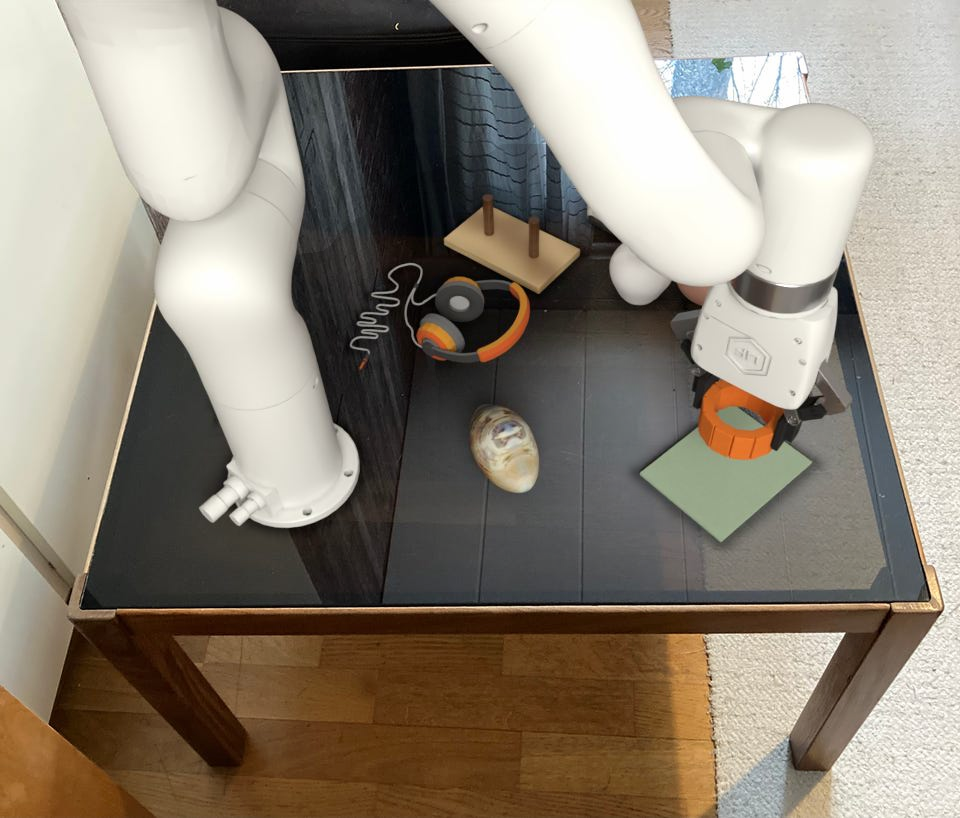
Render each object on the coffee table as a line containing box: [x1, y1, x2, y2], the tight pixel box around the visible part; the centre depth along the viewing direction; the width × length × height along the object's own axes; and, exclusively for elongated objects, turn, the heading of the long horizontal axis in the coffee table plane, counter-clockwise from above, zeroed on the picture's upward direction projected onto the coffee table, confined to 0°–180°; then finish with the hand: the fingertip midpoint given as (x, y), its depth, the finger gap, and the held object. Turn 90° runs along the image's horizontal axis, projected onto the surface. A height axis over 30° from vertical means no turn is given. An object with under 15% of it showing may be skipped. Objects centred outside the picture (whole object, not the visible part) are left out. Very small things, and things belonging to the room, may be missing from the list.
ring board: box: [443, 193, 581, 295], centre depth 108 cm, size 8×14×6 cm, turn 51°
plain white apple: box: [608, 242, 673, 306], centre depth 101 cm, size 7×7×8 cm
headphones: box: [349, 262, 531, 370], centre depth 100 cm, size 17×5×20 cm
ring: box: [697, 379, 784, 460], centre depth 83 cm, size 7×7×3 cm
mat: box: [639, 406, 813, 543], centre depth 89 cm, size 13×10×1 cm
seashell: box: [468, 403, 540, 494], centre depth 87 cm, size 10×6×8 cm, turn 26°
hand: (742, 417), depth 83 cm, fingers closed on ring, 7 cm apart
